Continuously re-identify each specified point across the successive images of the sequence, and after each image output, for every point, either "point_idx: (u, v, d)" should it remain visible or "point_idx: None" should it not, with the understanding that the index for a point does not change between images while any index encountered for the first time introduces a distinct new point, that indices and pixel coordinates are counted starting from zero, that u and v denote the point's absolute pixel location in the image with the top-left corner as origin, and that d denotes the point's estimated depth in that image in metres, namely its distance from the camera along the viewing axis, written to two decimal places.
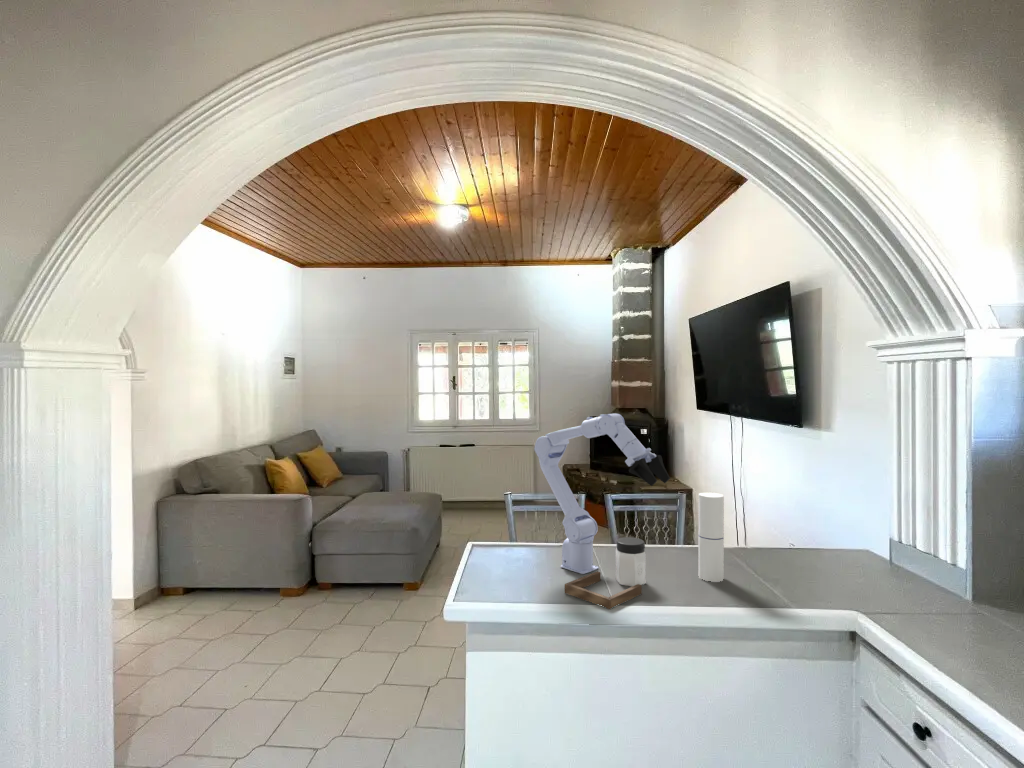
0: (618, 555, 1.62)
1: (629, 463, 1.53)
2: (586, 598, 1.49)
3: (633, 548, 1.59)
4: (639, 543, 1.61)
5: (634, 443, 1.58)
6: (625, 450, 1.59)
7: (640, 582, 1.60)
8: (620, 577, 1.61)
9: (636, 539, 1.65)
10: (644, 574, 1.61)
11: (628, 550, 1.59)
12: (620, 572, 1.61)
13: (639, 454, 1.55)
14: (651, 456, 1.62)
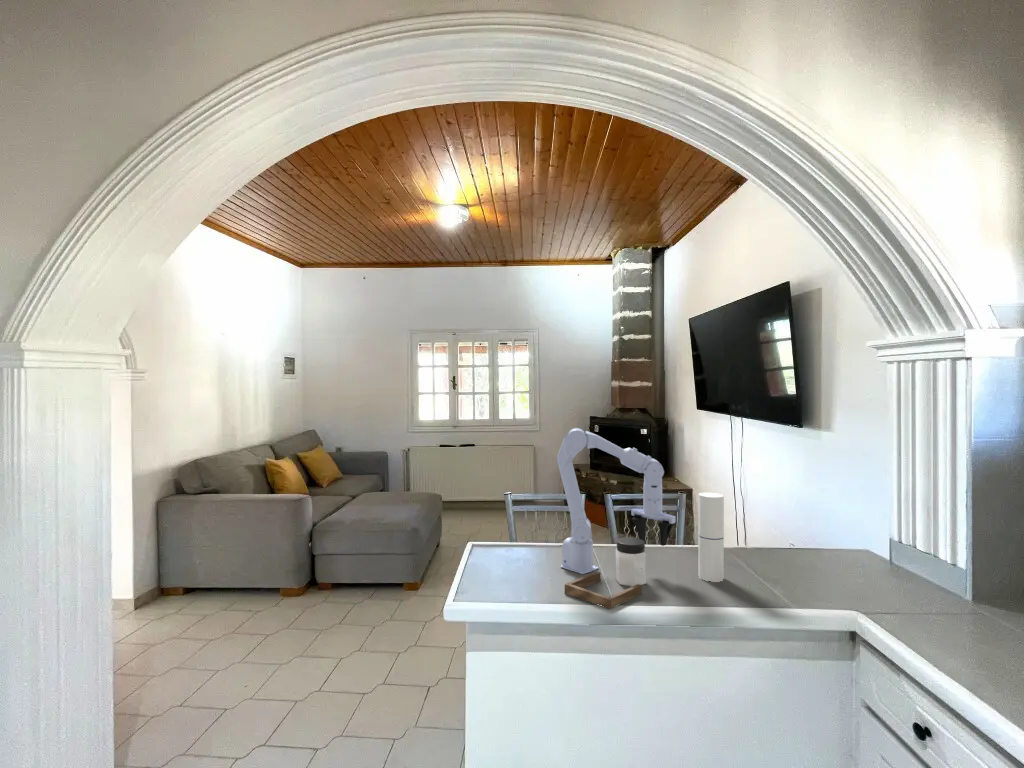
0: (618, 555, 1.62)
1: (673, 521, 1.66)
2: (586, 598, 1.49)
3: (633, 548, 1.59)
4: (639, 543, 1.61)
5: None
6: (659, 503, 1.69)
7: (640, 582, 1.60)
8: (620, 577, 1.61)
9: (636, 539, 1.65)
10: (644, 574, 1.61)
11: (628, 550, 1.59)
12: (620, 572, 1.61)
13: None
14: None
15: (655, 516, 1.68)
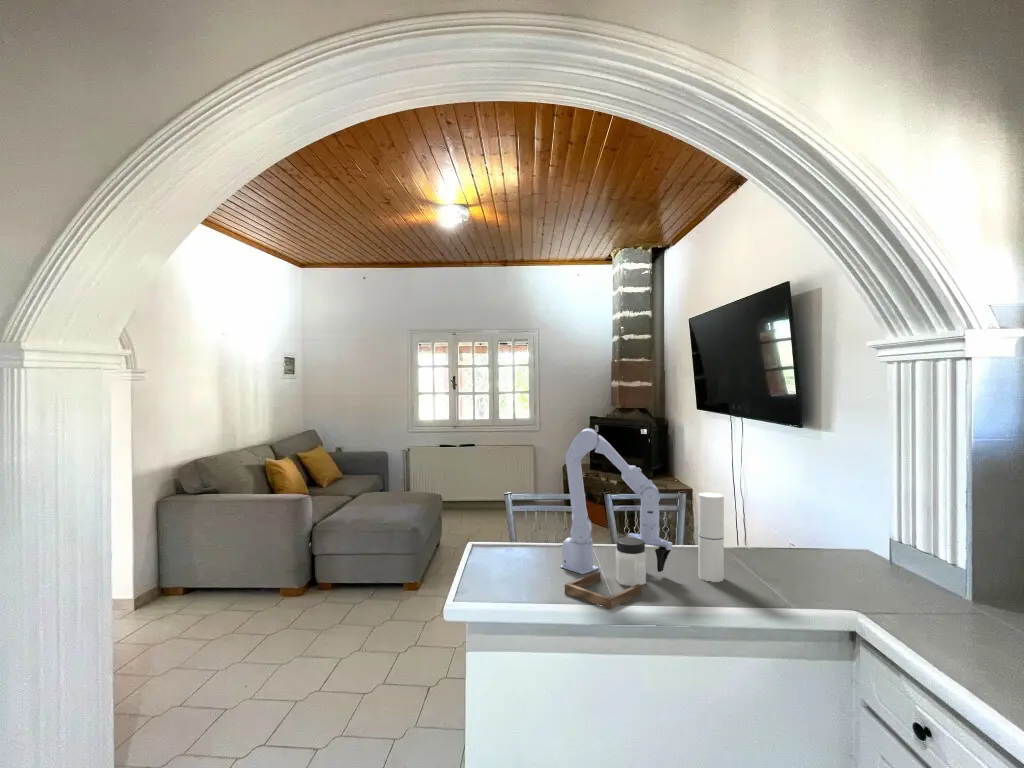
0: (618, 555, 1.62)
1: (670, 548, 1.65)
2: (586, 598, 1.49)
3: (633, 548, 1.59)
4: (639, 543, 1.61)
5: None
6: (655, 528, 1.68)
7: (640, 582, 1.60)
8: (620, 577, 1.61)
9: (636, 539, 1.65)
10: (644, 574, 1.61)
11: (628, 550, 1.59)
12: (620, 572, 1.61)
13: None
14: None
15: (652, 542, 1.67)
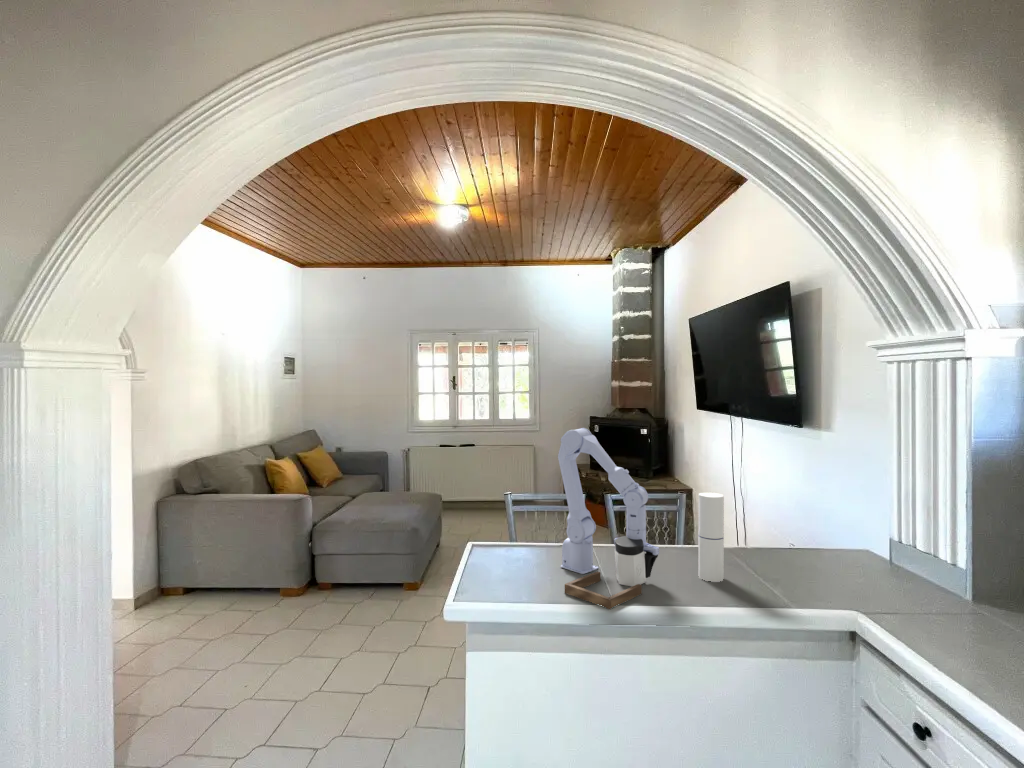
0: (617, 556, 1.61)
1: (656, 553, 1.60)
2: (586, 598, 1.49)
3: (631, 550, 1.58)
4: (637, 544, 1.59)
5: None
6: (642, 533, 1.63)
7: (640, 581, 1.60)
8: (620, 577, 1.60)
9: None
10: (644, 573, 1.60)
11: (627, 552, 1.58)
12: (619, 573, 1.60)
13: None
14: None
15: None
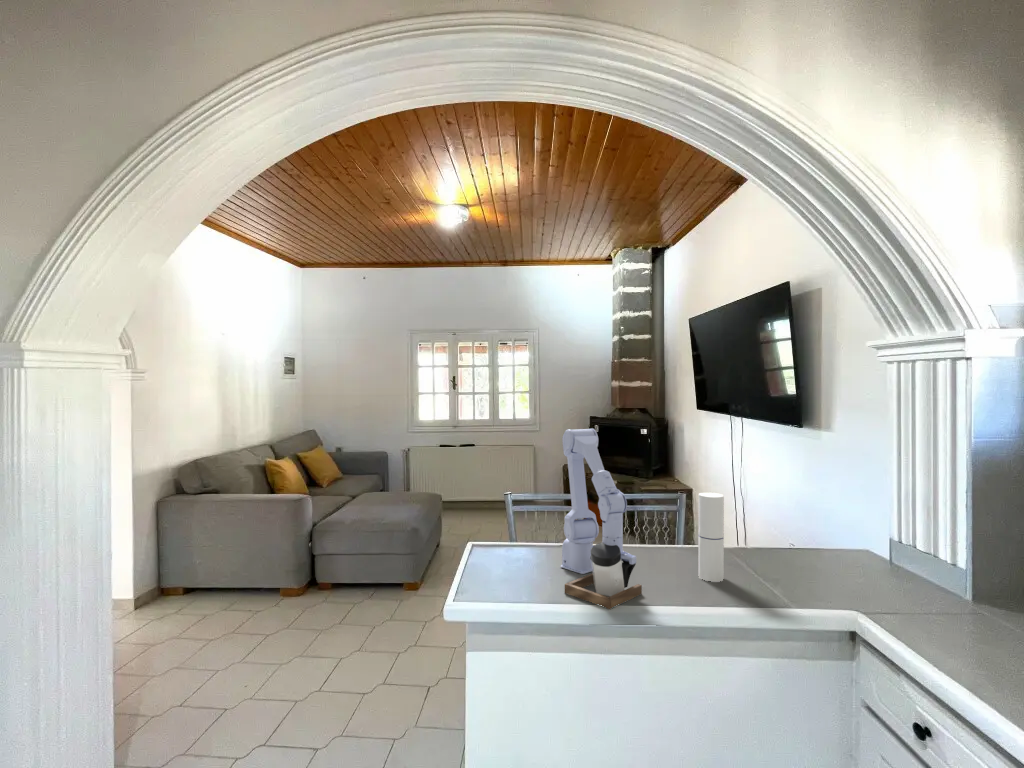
0: (593, 566, 1.52)
1: (633, 562, 1.51)
2: (586, 598, 1.49)
3: (607, 561, 1.49)
4: (614, 554, 1.50)
5: None
6: (618, 541, 1.54)
7: (618, 591, 1.52)
8: (597, 587, 1.53)
9: (612, 546, 1.54)
10: (622, 582, 1.52)
11: (602, 563, 1.49)
12: (596, 583, 1.52)
13: None
14: None
15: None
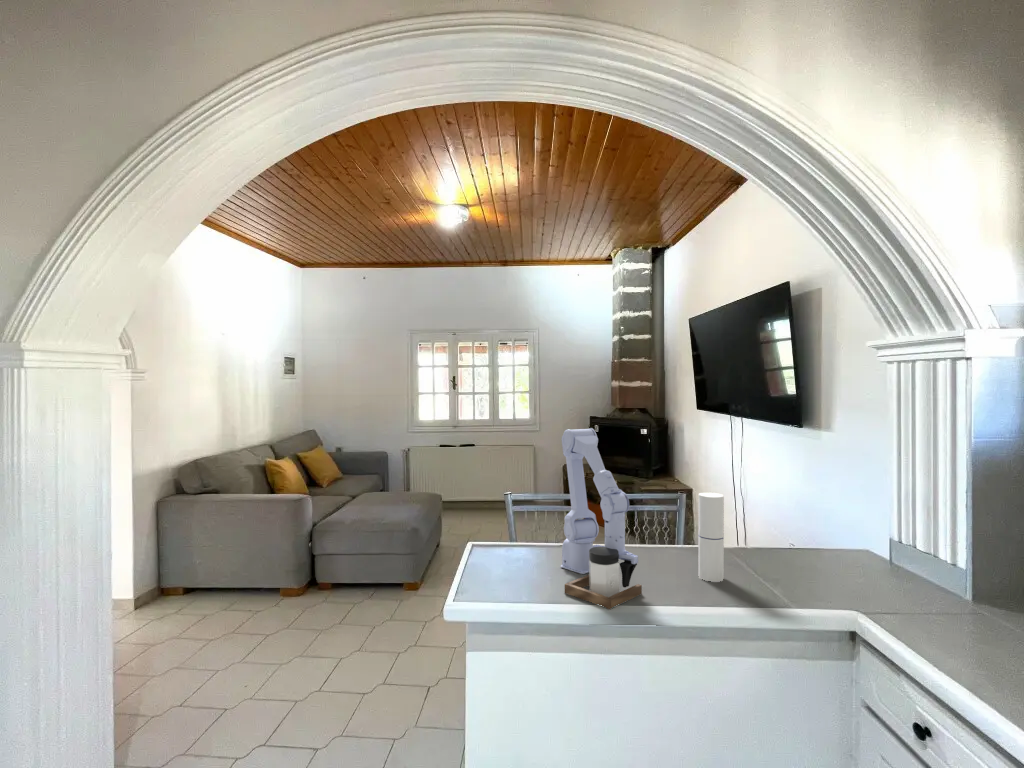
0: (590, 565, 1.53)
1: (635, 562, 1.52)
2: (586, 598, 1.49)
3: (604, 559, 1.50)
4: (612, 553, 1.51)
5: None
6: (620, 540, 1.55)
7: None
8: (591, 589, 1.52)
9: (611, 549, 1.55)
10: (617, 586, 1.51)
11: (599, 561, 1.50)
12: (591, 584, 1.52)
13: None
14: None
15: None
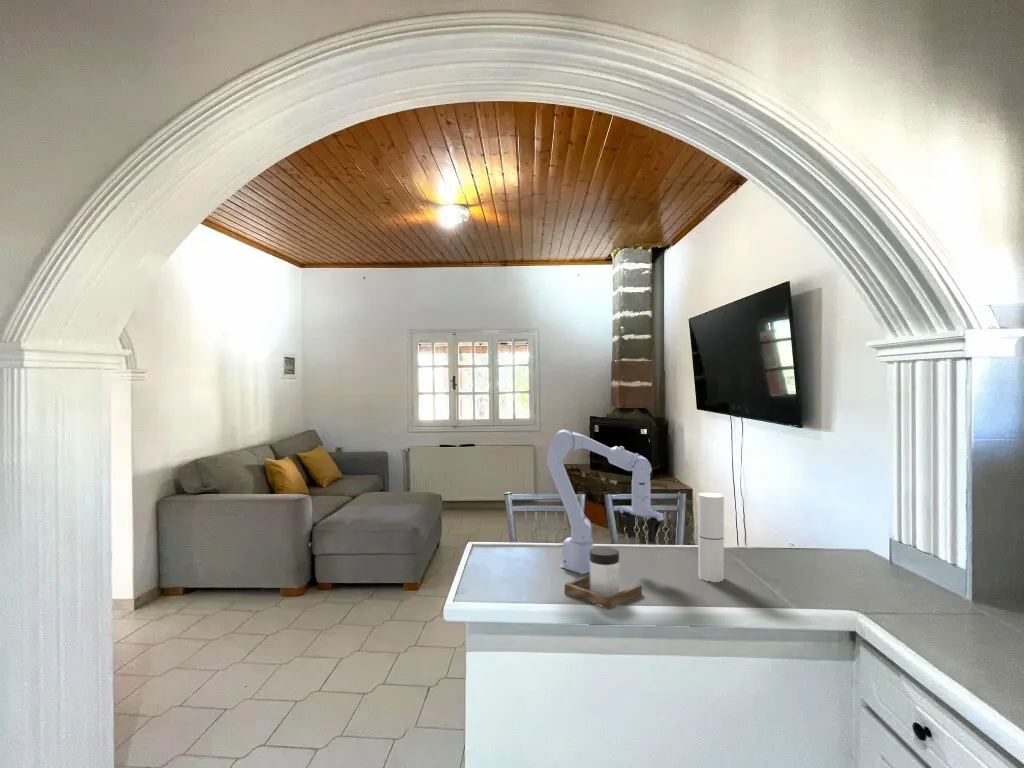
0: (590, 565, 1.53)
1: (660, 519, 1.66)
2: (586, 598, 1.49)
3: (605, 559, 1.50)
4: (612, 553, 1.51)
5: None
6: (646, 500, 1.69)
7: None
8: (592, 589, 1.52)
9: (611, 549, 1.55)
10: (617, 586, 1.51)
11: (600, 561, 1.50)
12: (592, 583, 1.52)
13: None
14: None
15: (643, 513, 1.68)
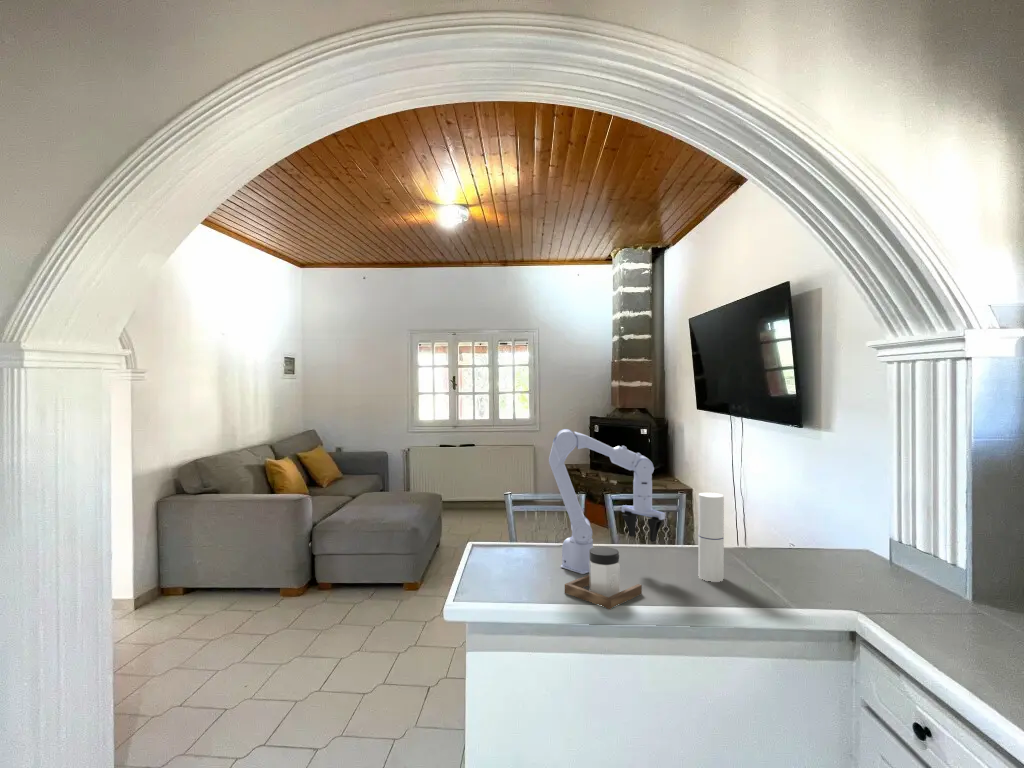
0: (590, 565, 1.53)
1: (662, 518, 1.67)
2: (586, 598, 1.49)
3: (605, 559, 1.50)
4: (612, 553, 1.51)
5: None
6: (648, 499, 1.70)
7: None
8: (591, 589, 1.52)
9: (611, 549, 1.55)
10: (617, 586, 1.51)
11: (600, 561, 1.50)
12: (591, 583, 1.52)
13: None
14: None
15: (645, 512, 1.69)
